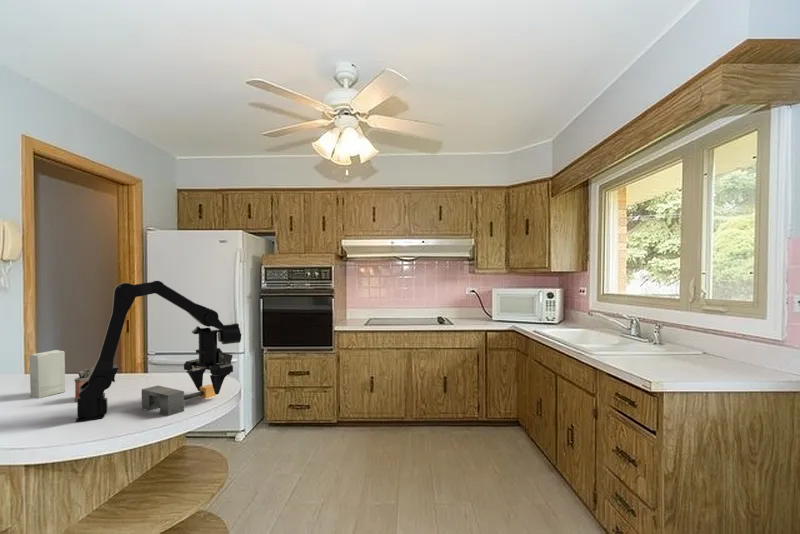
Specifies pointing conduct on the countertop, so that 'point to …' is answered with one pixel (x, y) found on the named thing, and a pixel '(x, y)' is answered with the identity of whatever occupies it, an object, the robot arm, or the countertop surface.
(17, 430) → the countertop surface
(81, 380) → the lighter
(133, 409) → the countertop surface
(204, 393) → the plug
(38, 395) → the skincare box
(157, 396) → the gray bridge-shaped block
